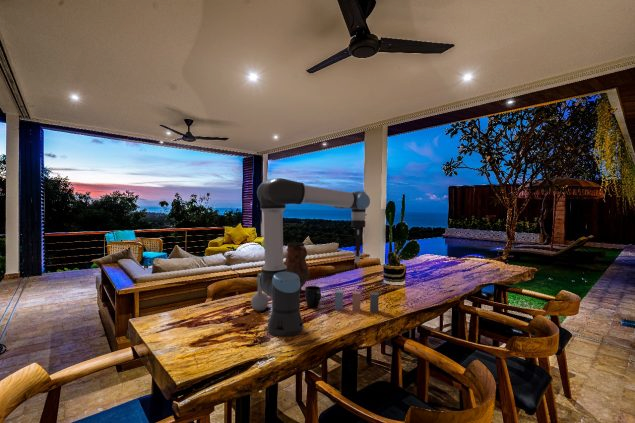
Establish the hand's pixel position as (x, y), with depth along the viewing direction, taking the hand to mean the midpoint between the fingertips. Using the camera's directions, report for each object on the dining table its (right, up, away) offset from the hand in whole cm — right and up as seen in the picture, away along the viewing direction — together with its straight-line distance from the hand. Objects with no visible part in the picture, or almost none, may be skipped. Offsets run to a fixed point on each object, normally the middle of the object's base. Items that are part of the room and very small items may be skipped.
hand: (357, 260), depth 161 cm
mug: (-24, -24, -5) cm, 34 cm away
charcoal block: (+7, -24, -10) cm, 27 cm away
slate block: (-11, -24, -7) cm, 27 cm away
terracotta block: (-2, -24, -8) cm, 25 cm away
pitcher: (-35, -23, +20) cm, 46 cm away
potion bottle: (-52, -23, -9) cm, 57 cm away
